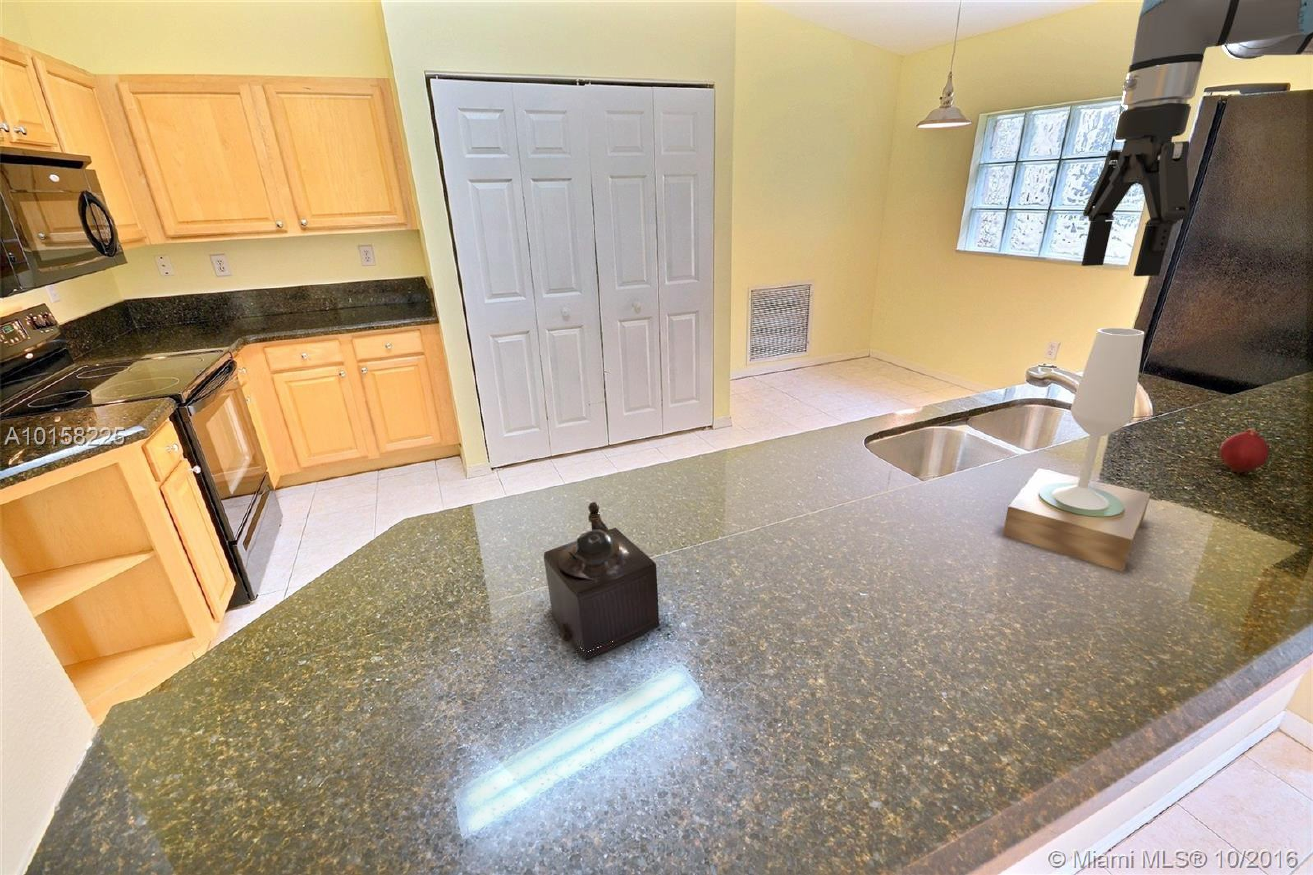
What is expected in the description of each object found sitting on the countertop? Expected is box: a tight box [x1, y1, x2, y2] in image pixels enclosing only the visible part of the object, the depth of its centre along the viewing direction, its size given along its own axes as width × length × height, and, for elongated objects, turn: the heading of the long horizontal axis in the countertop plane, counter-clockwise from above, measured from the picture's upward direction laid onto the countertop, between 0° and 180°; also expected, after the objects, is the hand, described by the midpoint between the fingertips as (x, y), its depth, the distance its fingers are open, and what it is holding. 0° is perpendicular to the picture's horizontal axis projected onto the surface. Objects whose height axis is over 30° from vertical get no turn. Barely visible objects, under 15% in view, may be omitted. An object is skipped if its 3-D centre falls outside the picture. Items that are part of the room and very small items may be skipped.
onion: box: [1218, 428, 1270, 474], centre depth 96 cm, size 6×6×8 cm
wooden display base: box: [1002, 468, 1152, 572], centre depth 83 cm, size 14×16×5 cm
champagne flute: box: [1052, 327, 1145, 510], centre depth 78 cm, size 7×7×24 cm
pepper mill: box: [543, 501, 660, 661], centre depth 66 cm, size 16×11×18 cm
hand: (1117, 270), depth 85 cm, fingers open, 13 cm apart
